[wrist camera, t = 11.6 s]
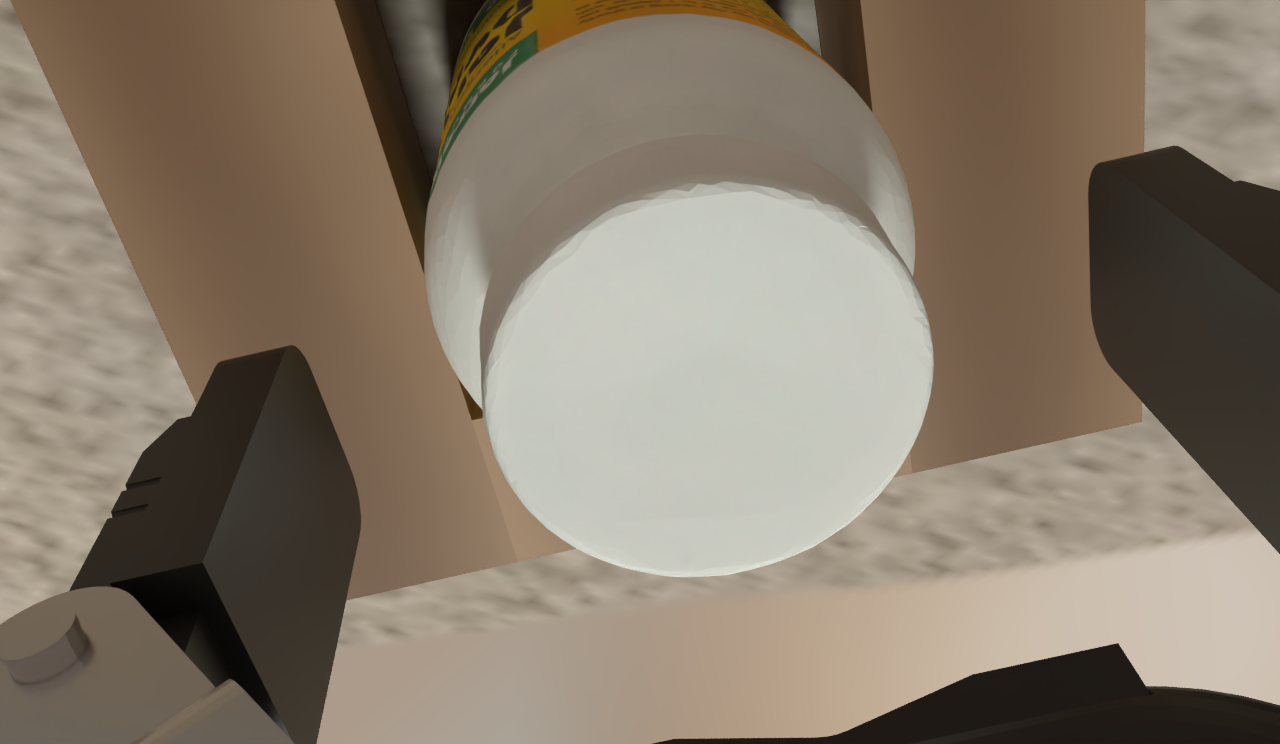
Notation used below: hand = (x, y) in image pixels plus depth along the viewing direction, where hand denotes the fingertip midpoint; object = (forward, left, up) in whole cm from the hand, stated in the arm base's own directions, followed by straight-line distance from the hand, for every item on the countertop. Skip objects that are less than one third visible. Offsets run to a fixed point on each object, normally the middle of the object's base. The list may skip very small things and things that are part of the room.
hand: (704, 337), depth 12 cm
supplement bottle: (0, 0, -8) cm, 8 cm away
